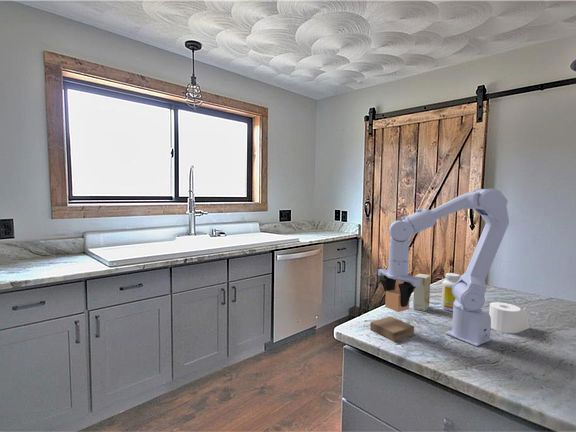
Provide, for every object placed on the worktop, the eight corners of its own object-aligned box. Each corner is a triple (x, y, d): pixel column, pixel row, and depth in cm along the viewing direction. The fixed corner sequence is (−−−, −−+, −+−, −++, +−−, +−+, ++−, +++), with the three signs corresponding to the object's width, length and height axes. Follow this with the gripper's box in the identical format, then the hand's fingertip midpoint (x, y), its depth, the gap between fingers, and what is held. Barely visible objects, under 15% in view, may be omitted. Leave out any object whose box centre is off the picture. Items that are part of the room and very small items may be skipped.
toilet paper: (529, 328, 103) (531, 306, 103) (510, 335, 98) (512, 313, 97) (502, 319, 110) (503, 299, 110) (483, 325, 105) (484, 304, 104)
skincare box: (425, 311, 116) (426, 278, 116) (412, 309, 119) (413, 276, 118) (429, 306, 122) (431, 274, 121) (417, 304, 124) (418, 272, 123)
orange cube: (409, 309, 100) (409, 293, 99) (397, 312, 97) (398, 295, 97) (396, 304, 104) (396, 288, 104) (385, 306, 101) (385, 291, 101)
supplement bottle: (464, 312, 116) (466, 276, 115) (446, 311, 117) (447, 276, 116) (455, 305, 123) (457, 272, 122) (438, 305, 123) (439, 272, 122)
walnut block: (413, 335, 98) (414, 326, 98) (393, 343, 93) (393, 333, 93) (390, 325, 106) (390, 316, 105) (370, 331, 101) (370, 322, 101)
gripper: (371, 256, 103) (370, 298, 105) (409, 266, 91) (407, 313, 92) (387, 254, 107) (385, 295, 108) (425, 263, 95) (423, 309, 96)
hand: (396, 303), depth 100 cm, fingers closed on orange cube, 5 cm apart
